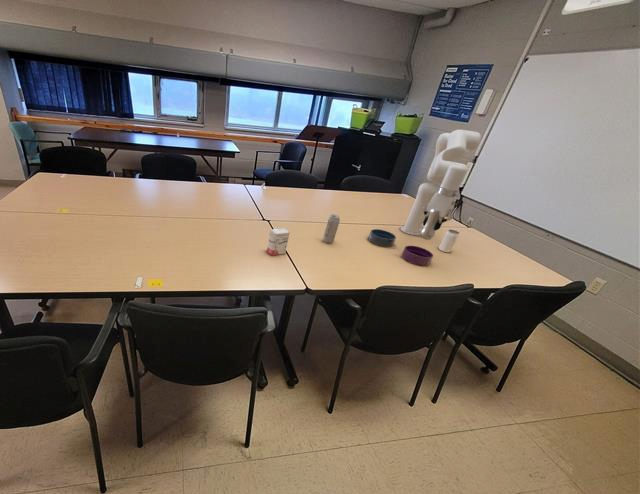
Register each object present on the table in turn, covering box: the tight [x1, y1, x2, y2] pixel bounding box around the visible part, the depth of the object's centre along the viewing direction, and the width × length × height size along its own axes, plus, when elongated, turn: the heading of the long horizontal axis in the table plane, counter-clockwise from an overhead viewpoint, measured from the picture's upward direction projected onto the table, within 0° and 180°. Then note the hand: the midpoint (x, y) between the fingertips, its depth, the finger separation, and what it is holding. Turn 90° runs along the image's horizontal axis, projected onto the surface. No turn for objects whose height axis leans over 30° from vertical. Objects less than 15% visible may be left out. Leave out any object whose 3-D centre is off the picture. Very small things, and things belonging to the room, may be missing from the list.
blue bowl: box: [367, 228, 397, 248], centre depth 186 cm, size 14×14×5 cm
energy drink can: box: [322, 214, 341, 244], centre depth 174 cm, size 6×6×15 cm
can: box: [438, 229, 460, 253], centre depth 185 cm, size 6×6×12 cm
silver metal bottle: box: [419, 208, 440, 241], centre depth 159 cm, size 6×7×20 cm
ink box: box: [266, 227, 290, 256], centre depth 156 cm, size 9×5×12 cm, turn 117°
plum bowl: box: [401, 245, 434, 266], centre depth 170 cm, size 14×14×5 cm
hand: (430, 227), depth 161 cm, fingers closed on silver metal bottle, 5 cm apart
